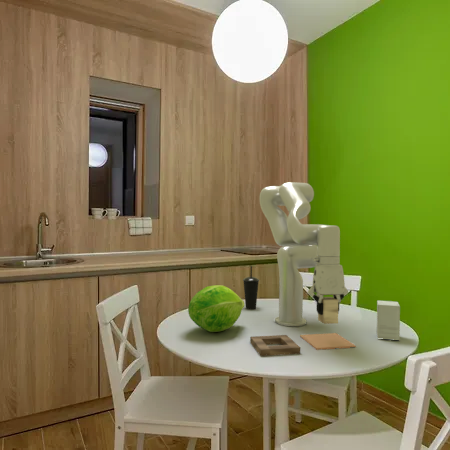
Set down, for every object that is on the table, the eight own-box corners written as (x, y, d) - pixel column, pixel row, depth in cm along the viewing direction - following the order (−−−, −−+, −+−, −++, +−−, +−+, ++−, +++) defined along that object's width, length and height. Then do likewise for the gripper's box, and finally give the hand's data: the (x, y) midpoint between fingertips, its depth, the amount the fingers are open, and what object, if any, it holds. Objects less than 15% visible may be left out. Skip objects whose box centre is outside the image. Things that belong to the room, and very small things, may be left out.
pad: (300, 336, 140) (300, 334, 140) (336, 334, 142) (336, 333, 142) (316, 349, 126) (316, 348, 126) (355, 347, 128) (355, 345, 128)
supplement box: (397, 335, 142) (398, 301, 141) (399, 341, 135) (400, 305, 134) (376, 333, 144) (376, 299, 144) (376, 339, 137) (377, 304, 137)
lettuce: (259, 330, 146) (260, 285, 146) (204, 343, 131) (205, 293, 131) (229, 319, 161) (229, 278, 161) (176, 330, 146) (177, 285, 145)
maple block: (318, 320, 135) (318, 297, 135) (331, 319, 136) (331, 296, 136) (324, 323, 131) (324, 300, 130) (338, 323, 131) (338, 299, 131)
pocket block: (250, 342, 133) (250, 336, 132) (286, 340, 135) (286, 334, 135) (260, 356, 120) (260, 349, 120) (300, 353, 122) (300, 347, 122)
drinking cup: (240, 306, 184) (240, 265, 184) (255, 305, 186) (255, 264, 186) (245, 310, 177) (246, 267, 176) (261, 309, 179) (261, 266, 179)
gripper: (309, 262, 128) (309, 317, 128) (356, 261, 131) (356, 315, 131) (300, 260, 135) (300, 312, 136) (345, 259, 139) (345, 310, 139)
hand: (327, 313), depth 133 cm, fingers closed on maple block, 5 cm apart
